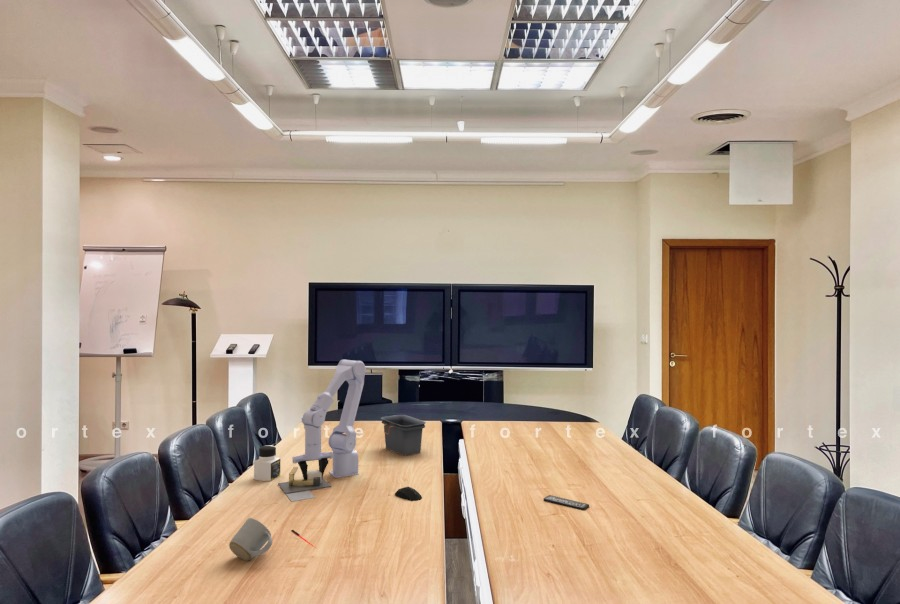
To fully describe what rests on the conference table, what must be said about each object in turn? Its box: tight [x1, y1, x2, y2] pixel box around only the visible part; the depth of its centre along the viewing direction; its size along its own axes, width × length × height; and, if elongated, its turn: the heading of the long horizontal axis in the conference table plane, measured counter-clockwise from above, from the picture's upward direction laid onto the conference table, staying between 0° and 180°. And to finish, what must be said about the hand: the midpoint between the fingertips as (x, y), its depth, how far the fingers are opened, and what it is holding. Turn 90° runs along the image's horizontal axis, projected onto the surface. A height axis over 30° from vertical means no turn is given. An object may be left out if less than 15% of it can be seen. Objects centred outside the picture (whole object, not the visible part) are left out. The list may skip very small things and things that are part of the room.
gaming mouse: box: [394, 486, 423, 502], centre depth 192 cm, size 6×15×4 cm, turn 42°
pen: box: [291, 529, 318, 550], centre depth 157 cm, size 1×19×1 cm, turn 40°
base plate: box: [277, 477, 332, 495], centre depth 204 cm, size 16×12×1 cm
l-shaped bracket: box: [288, 466, 320, 486], centre depth 207 cm, size 10×11×4 cm
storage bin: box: [380, 414, 427, 457], centre depth 252 cm, size 21×16×14 cm
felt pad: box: [285, 490, 316, 503], centre depth 193 cm, size 8×8×1 cm
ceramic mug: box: [228, 517, 273, 562], centre depth 146 cm, size 11×8×8 cm
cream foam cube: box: [307, 469, 322, 483], centre depth 207 cm, size 5×5×4 cm
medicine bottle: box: [253, 444, 281, 482], centre depth 214 cm, size 7×7×12 cm
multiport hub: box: [543, 494, 590, 511], centre depth 185 cm, size 4×14×2 cm, turn 52°
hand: (313, 480), depth 207 cm, fingers closed on cream foam cube, 5 cm apart
